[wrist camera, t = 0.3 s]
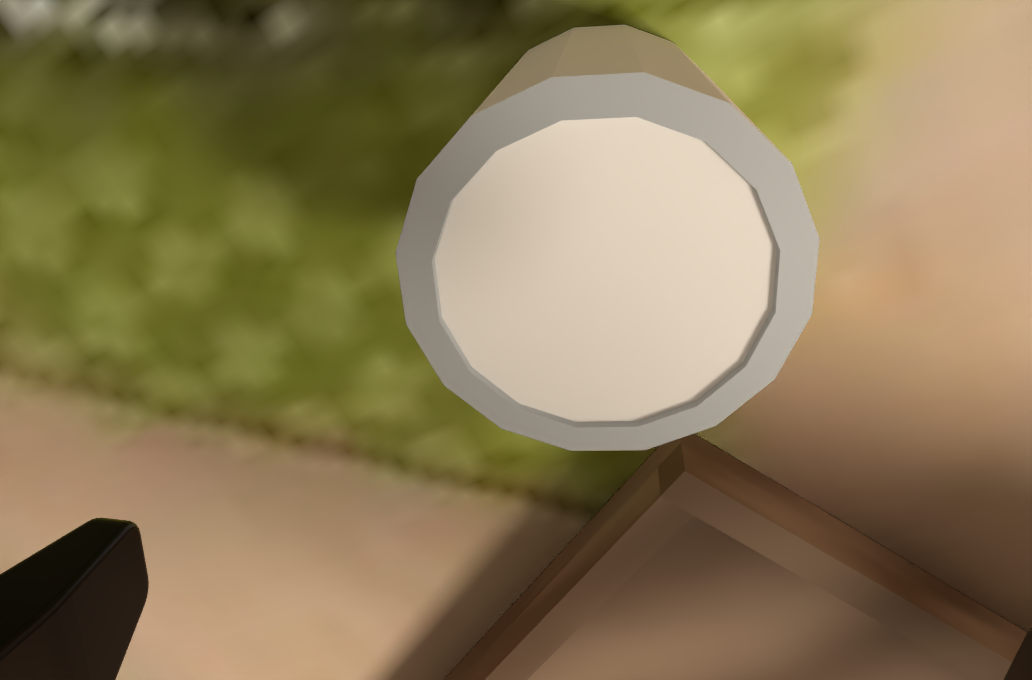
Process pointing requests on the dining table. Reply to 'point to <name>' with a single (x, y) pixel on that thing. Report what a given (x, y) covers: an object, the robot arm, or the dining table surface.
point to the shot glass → (607, 248)
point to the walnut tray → (734, 593)
